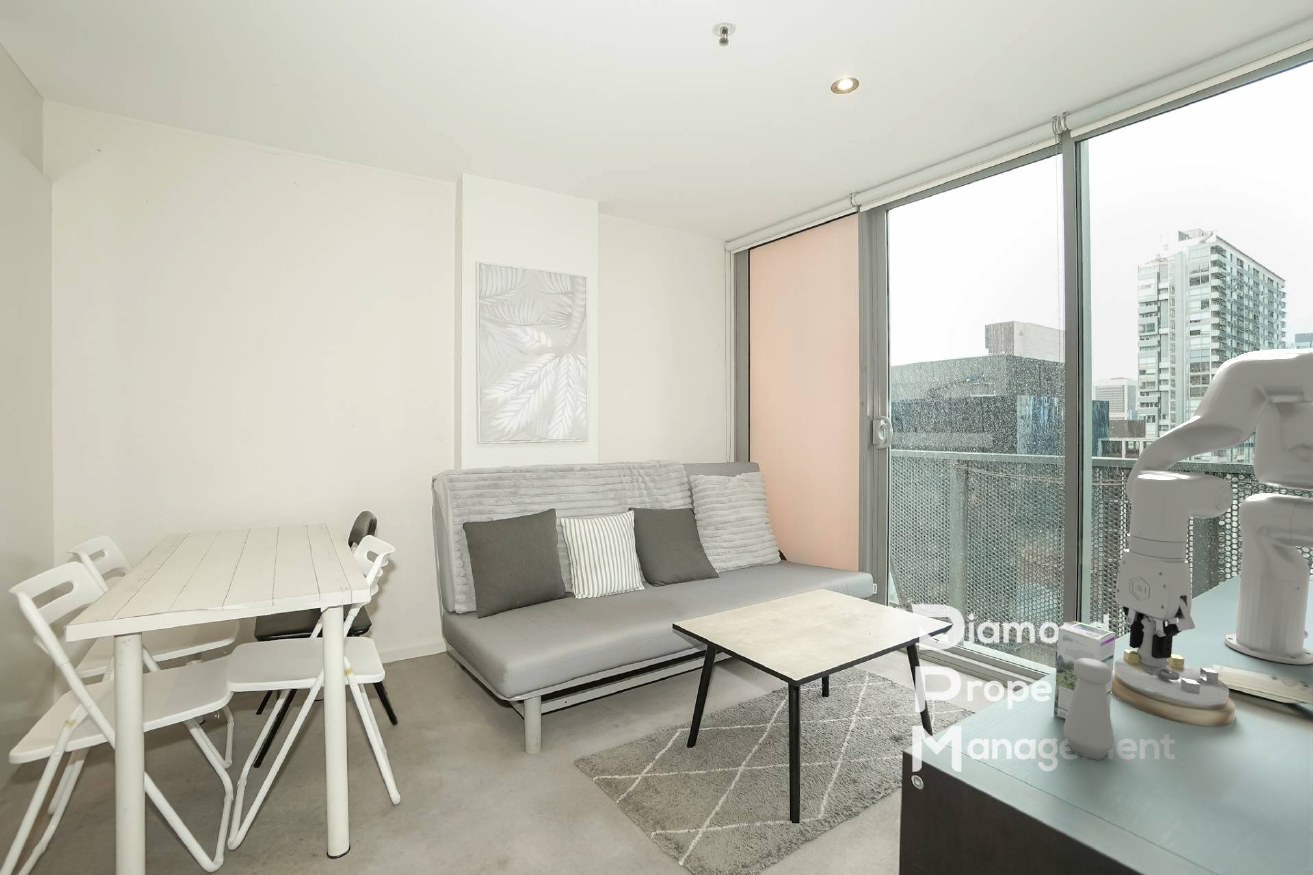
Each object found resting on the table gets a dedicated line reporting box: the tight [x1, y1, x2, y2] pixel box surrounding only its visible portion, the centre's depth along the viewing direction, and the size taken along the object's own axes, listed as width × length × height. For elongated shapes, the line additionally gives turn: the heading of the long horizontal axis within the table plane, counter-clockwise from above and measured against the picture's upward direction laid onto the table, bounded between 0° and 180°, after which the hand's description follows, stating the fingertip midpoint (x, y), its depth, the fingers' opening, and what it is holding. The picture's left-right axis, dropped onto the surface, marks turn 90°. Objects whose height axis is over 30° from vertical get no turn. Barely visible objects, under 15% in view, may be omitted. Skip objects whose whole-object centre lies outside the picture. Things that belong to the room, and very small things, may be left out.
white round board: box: [1113, 649, 1230, 710], centre depth 100 cm, size 14×14×4 cm
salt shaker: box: [1063, 658, 1115, 761], centre depth 85 cm, size 6×6×13 cm
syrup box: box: [1053, 620, 1116, 721], centre depth 93 cm, size 6×6×14 cm
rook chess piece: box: [1136, 615, 1169, 668], centre depth 104 cm, size 4×4×8 cm
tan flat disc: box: [1111, 668, 1236, 727], centre depth 100 cm, size 16×16×2 cm
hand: (1149, 651), depth 104 cm, fingers closed on rook chess piece, 3 cm apart
